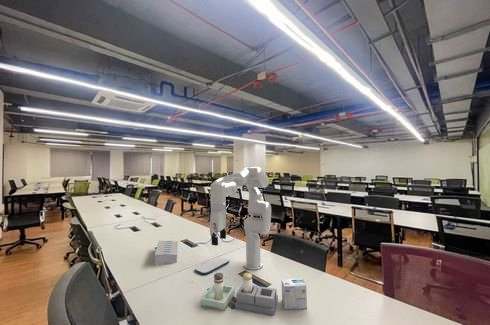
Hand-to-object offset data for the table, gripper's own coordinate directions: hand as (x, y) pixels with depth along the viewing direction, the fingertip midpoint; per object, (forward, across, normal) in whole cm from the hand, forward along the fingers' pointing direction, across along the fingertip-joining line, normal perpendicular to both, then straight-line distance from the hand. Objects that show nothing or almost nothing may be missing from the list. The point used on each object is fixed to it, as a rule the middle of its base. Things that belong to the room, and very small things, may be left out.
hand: (219, 241), depth 107 cm
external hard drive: (+29, -31, -20) cm, 47 cm away
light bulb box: (+29, -6, +36) cm, 46 cm away
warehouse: (+29, -39, -61) cm, 78 cm away
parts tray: (+28, +1, 0) cm, 28 cm away
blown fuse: (+27, 0, 0) cm, 27 cm away
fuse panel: (+28, -1, +18) cm, 34 cm away
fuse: (+26, -1, +14) cm, 30 cm away
